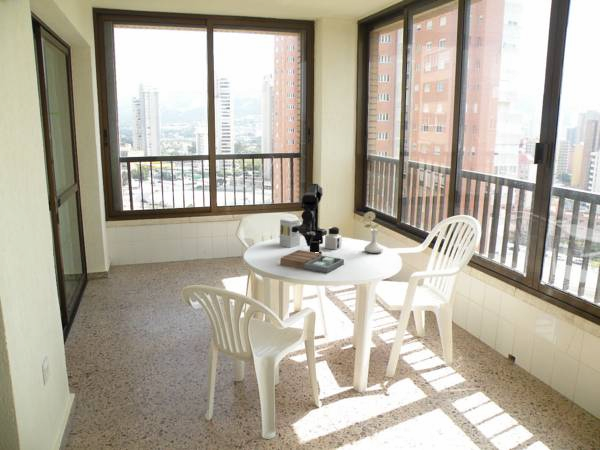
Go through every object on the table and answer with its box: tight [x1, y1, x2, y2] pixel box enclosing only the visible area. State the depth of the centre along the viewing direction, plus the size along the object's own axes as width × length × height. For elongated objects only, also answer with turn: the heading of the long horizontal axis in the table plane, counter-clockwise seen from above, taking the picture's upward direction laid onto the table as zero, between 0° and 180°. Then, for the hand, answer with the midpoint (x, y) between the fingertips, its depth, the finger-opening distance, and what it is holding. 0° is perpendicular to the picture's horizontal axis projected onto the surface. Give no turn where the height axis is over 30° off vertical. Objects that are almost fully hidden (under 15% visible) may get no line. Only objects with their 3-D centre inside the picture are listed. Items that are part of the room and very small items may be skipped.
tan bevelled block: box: [280, 249, 323, 270], centre depth 293 cm, size 20×15×4 cm
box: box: [303, 255, 345, 274], centre depth 286 cm, size 20×14×3 cm
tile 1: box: [313, 262, 326, 267], centre depth 282 cm, size 5×5×2 cm
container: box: [324, 226, 343, 251], centre depth 325 cm, size 8×8×13 cm
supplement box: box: [279, 217, 301, 248], centre depth 329 cm, size 10×9×17 cm
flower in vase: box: [362, 211, 384, 254], centre depth 316 cm, size 13×11×25 cm
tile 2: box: [322, 256, 335, 265], centre depth 291 cm, size 5×5×2 cm
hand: (308, 246), depth 282 cm, fingers closed
